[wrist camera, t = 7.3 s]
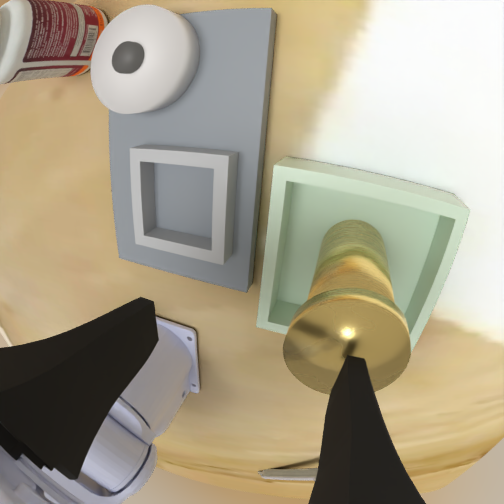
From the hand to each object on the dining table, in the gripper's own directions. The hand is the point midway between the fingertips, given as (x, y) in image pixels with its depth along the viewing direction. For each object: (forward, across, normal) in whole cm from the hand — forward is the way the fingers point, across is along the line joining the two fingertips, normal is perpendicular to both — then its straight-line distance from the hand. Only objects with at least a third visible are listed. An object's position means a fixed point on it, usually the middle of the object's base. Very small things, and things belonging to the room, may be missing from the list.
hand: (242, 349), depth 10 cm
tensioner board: (+10, +8, -5) cm, 14 cm away
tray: (+10, -4, 0) cm, 11 cm away
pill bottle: (+10, +18, -14) cm, 25 cm away
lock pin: (+10, -4, 0) cm, 10 cm away
